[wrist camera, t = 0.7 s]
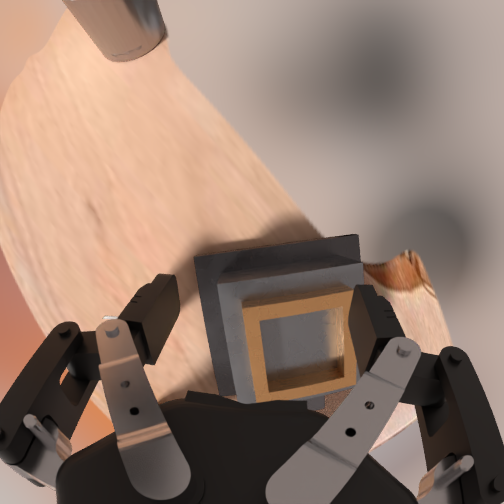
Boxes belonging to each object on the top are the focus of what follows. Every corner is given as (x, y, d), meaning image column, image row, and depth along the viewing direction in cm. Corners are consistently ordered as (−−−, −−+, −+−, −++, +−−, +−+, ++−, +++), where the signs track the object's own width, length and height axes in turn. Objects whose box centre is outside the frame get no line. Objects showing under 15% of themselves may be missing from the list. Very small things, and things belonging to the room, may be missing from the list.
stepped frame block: (195, 255, 31) (179, 268, 22) (353, 234, 32) (395, 238, 23) (221, 396, 33) (219, 445, 24) (358, 371, 34) (390, 409, 25)
